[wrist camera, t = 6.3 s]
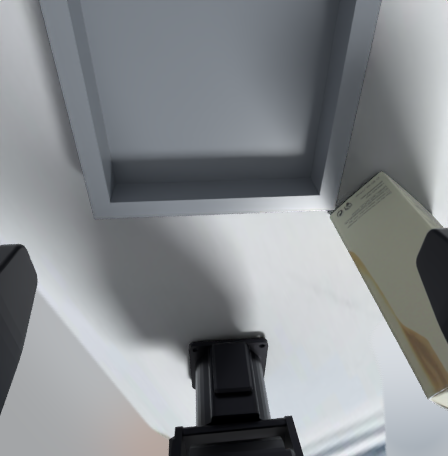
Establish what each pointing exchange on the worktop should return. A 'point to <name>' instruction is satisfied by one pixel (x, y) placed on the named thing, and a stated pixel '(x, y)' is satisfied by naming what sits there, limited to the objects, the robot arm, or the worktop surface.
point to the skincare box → (397, 273)
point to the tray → (211, 101)
